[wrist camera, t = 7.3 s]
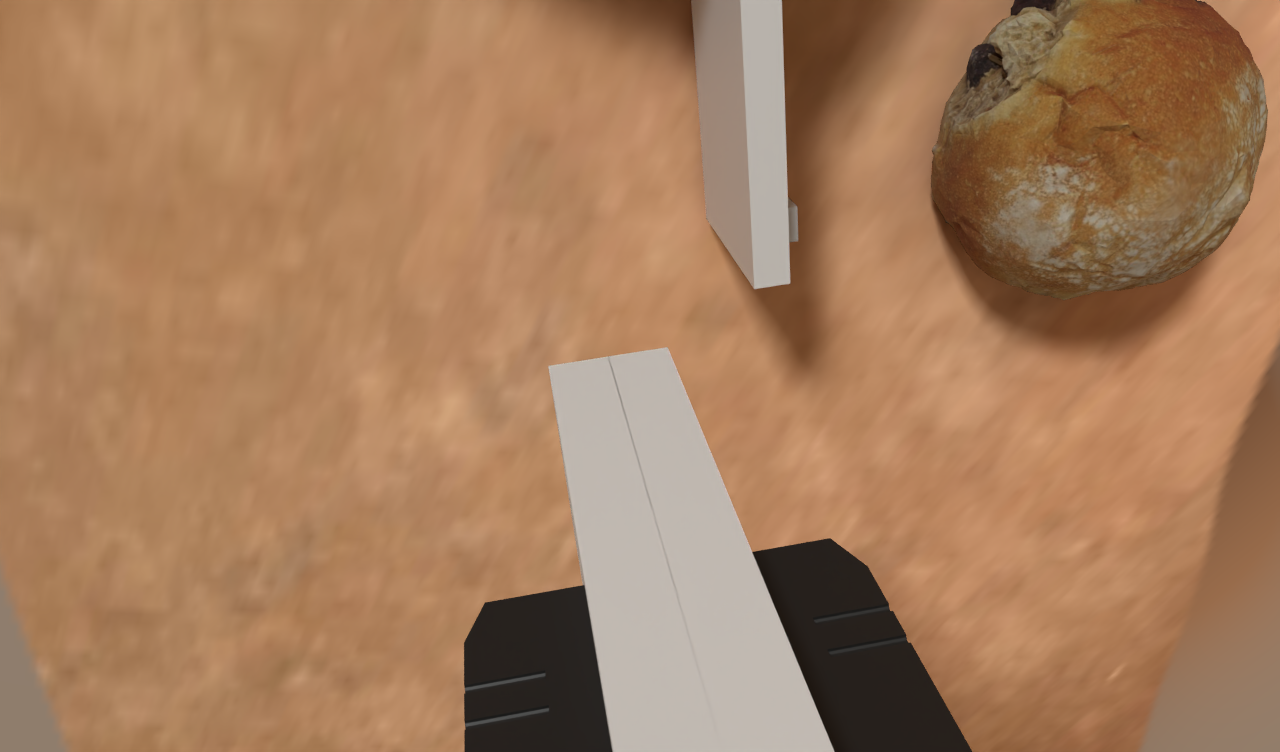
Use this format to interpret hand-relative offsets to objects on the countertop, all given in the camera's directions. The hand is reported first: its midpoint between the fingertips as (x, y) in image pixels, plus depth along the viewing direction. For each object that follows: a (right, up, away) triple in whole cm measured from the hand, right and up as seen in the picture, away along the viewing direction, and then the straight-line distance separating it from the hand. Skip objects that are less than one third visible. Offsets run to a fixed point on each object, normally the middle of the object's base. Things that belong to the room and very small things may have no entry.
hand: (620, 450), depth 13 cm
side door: (+3, +10, +17) cm, 21 cm away
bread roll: (+14, +9, +21) cm, 27 cm away
